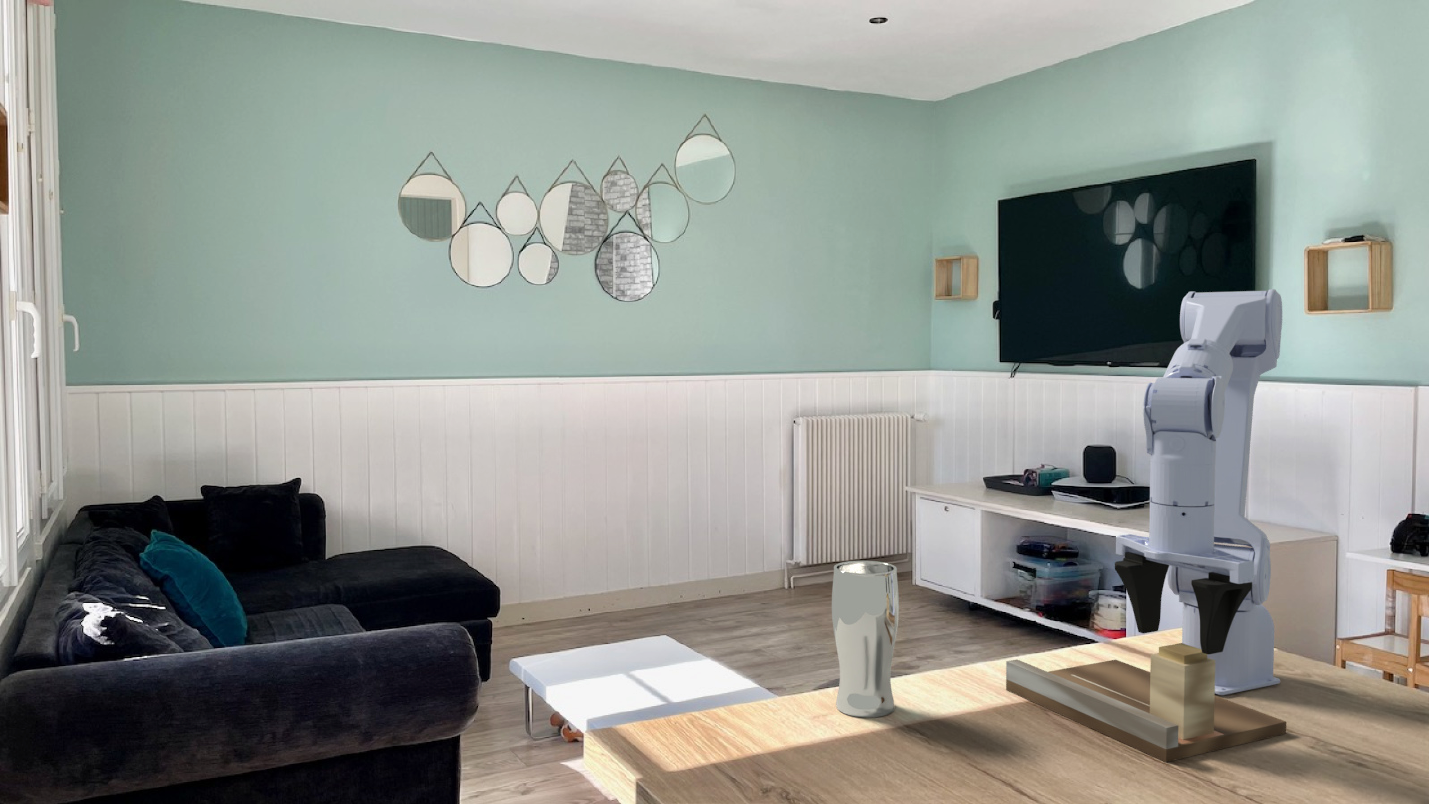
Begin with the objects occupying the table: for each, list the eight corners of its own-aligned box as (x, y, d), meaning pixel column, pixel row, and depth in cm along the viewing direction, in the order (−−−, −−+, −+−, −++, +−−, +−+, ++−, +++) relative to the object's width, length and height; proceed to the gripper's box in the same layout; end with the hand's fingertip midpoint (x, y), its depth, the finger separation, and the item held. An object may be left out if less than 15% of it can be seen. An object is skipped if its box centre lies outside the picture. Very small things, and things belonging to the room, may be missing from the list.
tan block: (1179, 718, 104) (1181, 641, 104) (1213, 732, 101) (1215, 652, 100) (1149, 725, 103) (1150, 646, 102) (1183, 739, 99) (1184, 657, 98)
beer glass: (896, 697, 115) (896, 560, 114) (901, 720, 108) (901, 575, 107) (831, 695, 115) (831, 559, 114) (832, 718, 108) (832, 574, 108)
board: (1115, 669, 123) (1115, 642, 123) (1286, 733, 103) (1286, 701, 103) (1006, 689, 117) (1006, 661, 117) (1165, 762, 97) (1166, 727, 97)
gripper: (1094, 495, 107) (1092, 628, 107) (1216, 517, 93) (1213, 668, 94) (1145, 490, 109) (1143, 619, 110) (1271, 511, 96) (1267, 657, 97)
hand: (1179, 641), depth 103 cm, fingers open, 7 cm apart
